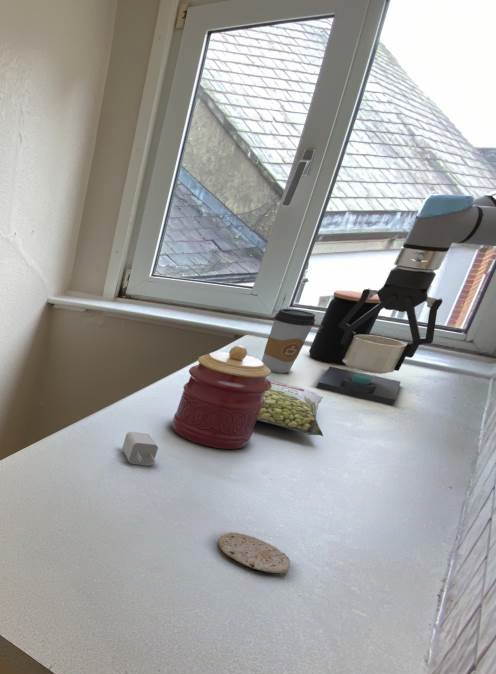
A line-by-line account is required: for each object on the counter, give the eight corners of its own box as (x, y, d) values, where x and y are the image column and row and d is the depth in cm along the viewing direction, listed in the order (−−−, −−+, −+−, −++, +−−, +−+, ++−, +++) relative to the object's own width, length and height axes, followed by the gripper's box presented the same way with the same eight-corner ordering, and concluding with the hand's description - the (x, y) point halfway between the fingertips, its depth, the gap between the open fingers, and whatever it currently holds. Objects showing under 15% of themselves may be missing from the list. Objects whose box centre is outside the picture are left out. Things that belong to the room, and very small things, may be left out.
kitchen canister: (155, 424, 108) (182, 337, 100) (204, 417, 112) (233, 333, 105) (212, 454, 97) (248, 360, 90) (264, 446, 101) (302, 355, 94)
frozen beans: (203, 388, 110) (220, 359, 128) (193, 414, 112) (211, 382, 130) (331, 422, 99) (330, 385, 117) (316, 450, 102) (317, 409, 120)
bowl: (393, 369, 133) (408, 341, 130) (390, 377, 127) (405, 349, 124) (344, 358, 139) (356, 332, 136) (339, 366, 133) (351, 338, 130)
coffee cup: (265, 373, 140) (288, 315, 133) (249, 362, 147) (270, 307, 140) (300, 376, 139) (325, 317, 132) (282, 365, 146) (305, 309, 139)
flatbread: (206, 547, 73) (208, 541, 72) (235, 530, 76) (237, 525, 76) (273, 584, 67) (276, 578, 66) (301, 564, 70) (304, 558, 70)
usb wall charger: (145, 454, 97) (151, 433, 95) (157, 473, 91) (164, 452, 89) (121, 451, 97) (127, 431, 95) (131, 470, 91) (138, 449, 89)
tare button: (368, 383, 128) (372, 376, 127) (367, 386, 126) (370, 379, 125) (351, 379, 130) (354, 372, 129) (349, 382, 128) (353, 375, 127)
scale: (398, 386, 134) (404, 375, 133) (392, 406, 122) (398, 393, 121) (327, 371, 143) (332, 360, 142) (315, 388, 131) (320, 376, 130)
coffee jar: (326, 352, 159) (353, 290, 151) (364, 364, 149) (396, 299, 141) (297, 354, 156) (324, 290, 148) (335, 366, 147) (366, 299, 139)
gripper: (349, 263, 127) (309, 354, 137) (485, 279, 113) (430, 380, 123) (353, 260, 132) (314, 349, 142) (484, 275, 118) (431, 372, 128)
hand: (368, 363), depth 132 cm, fingers closed on bowl, 10 cm apart
